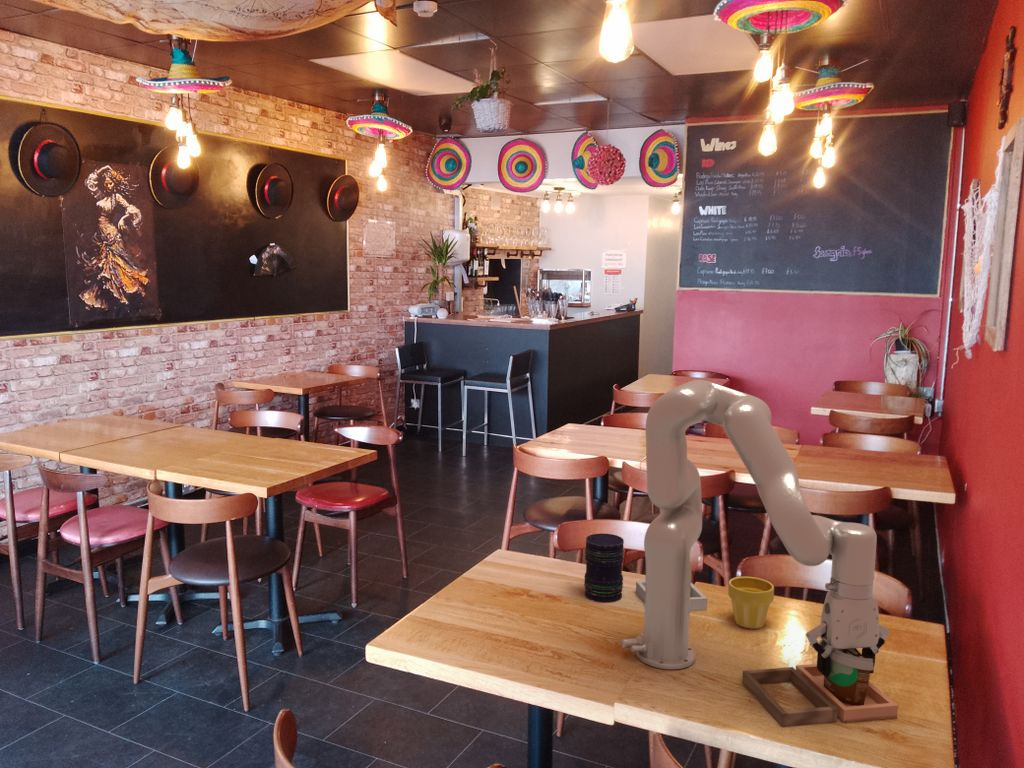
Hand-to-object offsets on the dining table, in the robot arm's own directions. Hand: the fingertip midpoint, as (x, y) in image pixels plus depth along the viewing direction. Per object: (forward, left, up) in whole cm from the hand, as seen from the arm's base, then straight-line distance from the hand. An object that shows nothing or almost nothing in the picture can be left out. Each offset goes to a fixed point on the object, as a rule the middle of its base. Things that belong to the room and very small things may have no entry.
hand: (845, 671), depth 152 cm
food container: (-2, 0, -5) cm, 5 cm away
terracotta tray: (0, 0, -5) cm, 5 cm away
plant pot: (-3, +34, -5) cm, 35 cm away
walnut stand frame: (-12, 0, -5) cm, 13 cm away
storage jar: (-33, +55, -5) cm, 64 cm away
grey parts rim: (-17, +49, -5) cm, 52 cm away
